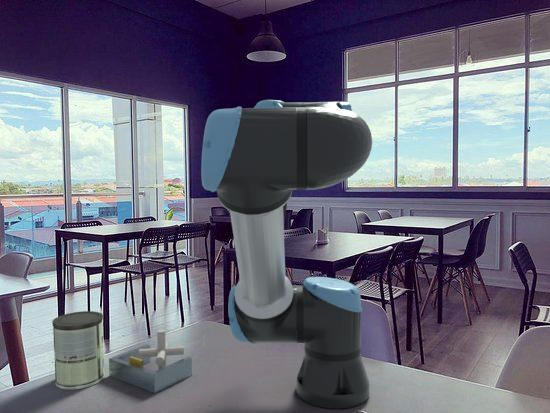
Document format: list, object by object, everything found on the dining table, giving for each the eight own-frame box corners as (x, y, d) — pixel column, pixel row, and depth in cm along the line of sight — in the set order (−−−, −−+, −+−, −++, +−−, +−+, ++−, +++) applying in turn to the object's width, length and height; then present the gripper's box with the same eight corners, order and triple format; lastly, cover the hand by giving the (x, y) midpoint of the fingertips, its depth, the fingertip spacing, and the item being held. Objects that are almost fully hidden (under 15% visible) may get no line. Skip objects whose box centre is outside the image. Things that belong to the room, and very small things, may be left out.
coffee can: (48, 379, 101) (46, 317, 100) (94, 366, 108) (92, 308, 107) (63, 395, 94) (61, 328, 93) (112, 380, 101) (110, 317, 100)
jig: (191, 374, 103) (191, 352, 103) (155, 393, 94) (154, 368, 94) (147, 360, 112) (146, 339, 111) (109, 375, 103) (108, 353, 102)
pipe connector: (183, 381, 100) (182, 337, 99) (136, 385, 98) (135, 340, 97) (185, 362, 109) (184, 322, 109) (143, 365, 108) (141, 325, 107)
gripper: (274, 165, 120) (274, 254, 121) (243, 164, 109) (244, 261, 110) (298, 164, 115) (298, 256, 117) (268, 163, 105) (269, 264, 106)
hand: (272, 258), depth 114 cm, fingers closed
